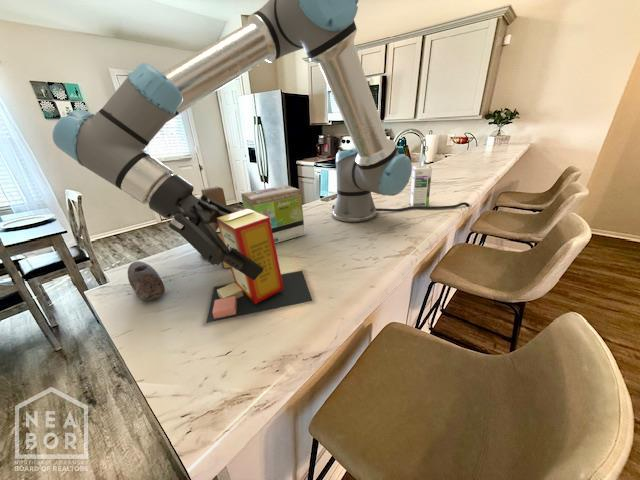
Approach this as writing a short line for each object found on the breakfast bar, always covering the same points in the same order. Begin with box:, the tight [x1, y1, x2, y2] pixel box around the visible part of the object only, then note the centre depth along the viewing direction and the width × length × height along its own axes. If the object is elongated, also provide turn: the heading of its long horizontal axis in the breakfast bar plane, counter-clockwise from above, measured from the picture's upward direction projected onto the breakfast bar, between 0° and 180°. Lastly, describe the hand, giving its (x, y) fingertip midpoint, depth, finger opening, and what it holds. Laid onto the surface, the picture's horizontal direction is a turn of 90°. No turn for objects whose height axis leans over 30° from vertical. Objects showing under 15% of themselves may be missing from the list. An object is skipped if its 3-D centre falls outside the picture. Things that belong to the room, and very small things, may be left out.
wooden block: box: [201, 185, 228, 256], centre depth 72 cm, size 9×4×18 cm, turn 130°
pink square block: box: [212, 296, 237, 319], centre depth 51 cm, size 4×4×2 cm
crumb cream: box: [217, 281, 244, 299], centre depth 55 cm, size 4×4×2 cm
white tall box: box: [409, 165, 433, 207], centre depth 97 cm, size 6×6×14 cm
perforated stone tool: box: [127, 260, 166, 302], centre depth 58 cm, size 15×5×7 cm, turn 44°
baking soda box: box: [216, 208, 284, 304], centre depth 52 cm, size 10×6×16 cm
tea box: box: [241, 184, 305, 244], centre depth 79 cm, size 15×10×15 cm, turn 123°
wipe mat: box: [205, 270, 313, 324], centre depth 55 cm, size 20×12×1 cm, turn 103°
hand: (263, 258), depth 53 cm, fingers closed on baking soda box, 11 cm apart
